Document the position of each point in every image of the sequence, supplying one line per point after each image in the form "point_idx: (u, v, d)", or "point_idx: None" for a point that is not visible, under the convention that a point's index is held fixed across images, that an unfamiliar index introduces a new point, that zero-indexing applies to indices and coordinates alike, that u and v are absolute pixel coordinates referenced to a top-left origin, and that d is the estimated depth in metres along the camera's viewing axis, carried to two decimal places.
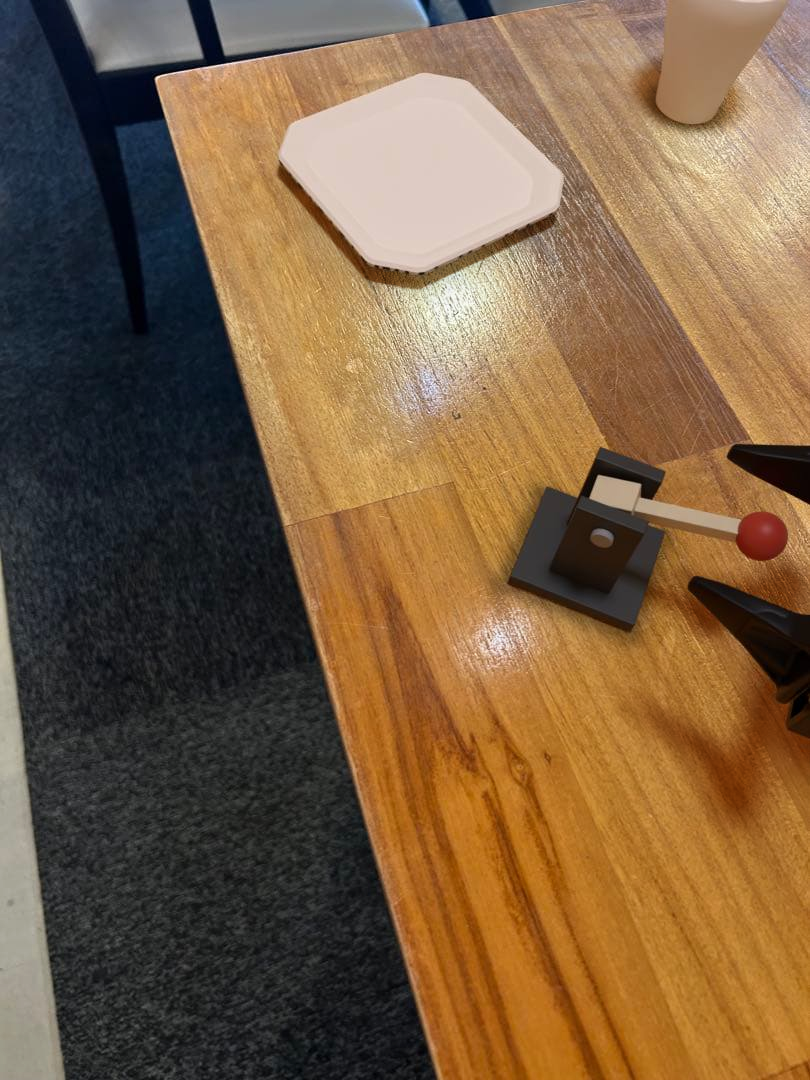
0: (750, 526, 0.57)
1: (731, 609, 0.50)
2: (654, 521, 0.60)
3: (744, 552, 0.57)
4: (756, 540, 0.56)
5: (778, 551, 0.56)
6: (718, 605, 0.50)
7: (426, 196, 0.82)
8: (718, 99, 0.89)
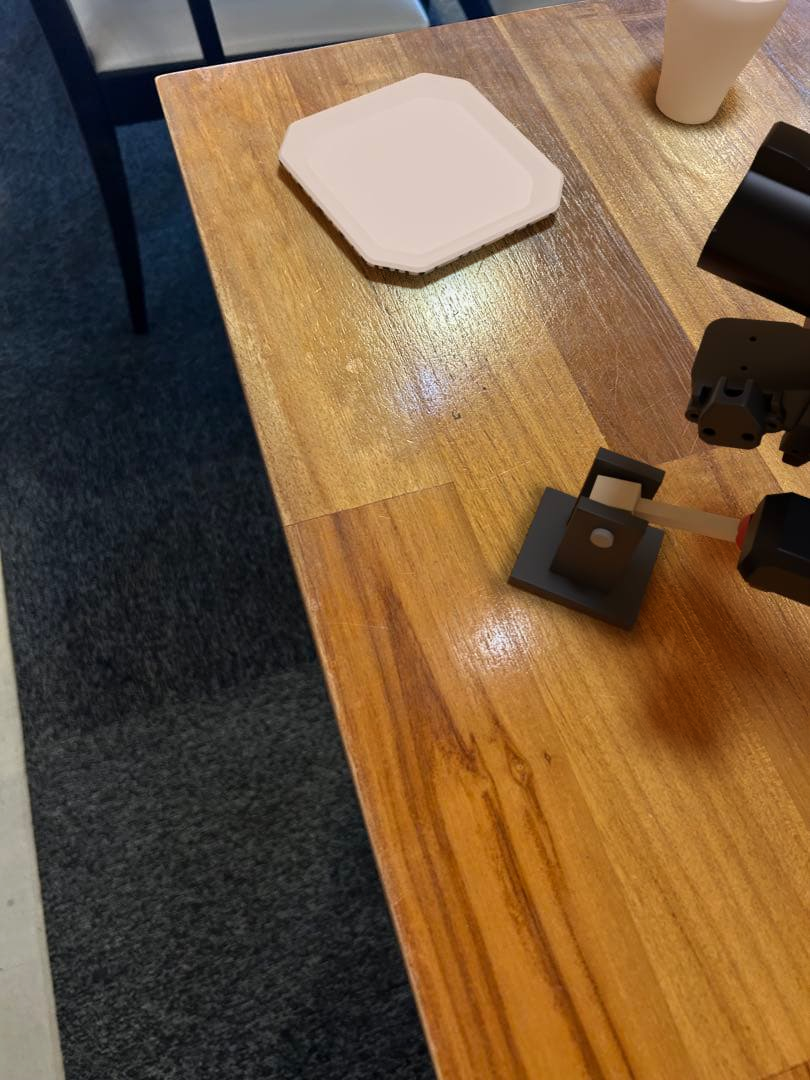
0: None
1: None
2: (654, 521, 0.60)
3: None
4: None
5: None
6: None
7: (426, 196, 0.82)
8: (718, 99, 0.89)
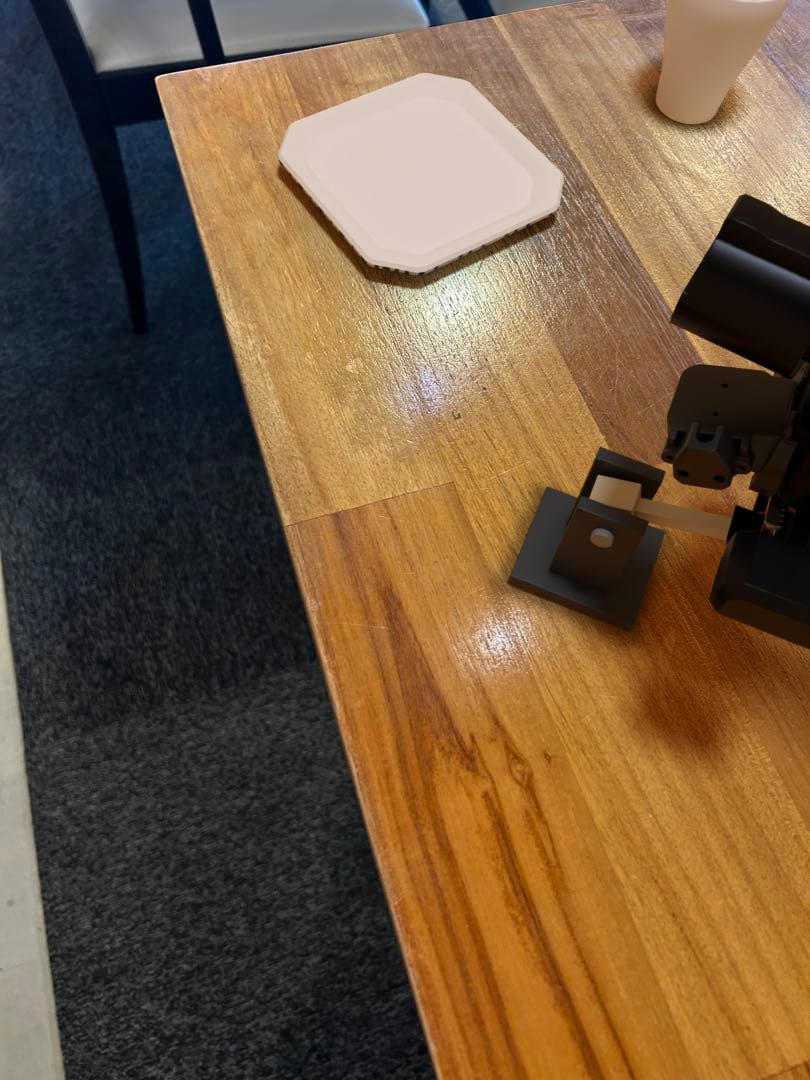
0: None
1: None
2: (654, 521, 0.60)
3: None
4: None
5: None
6: None
7: (426, 196, 0.82)
8: (718, 99, 0.89)
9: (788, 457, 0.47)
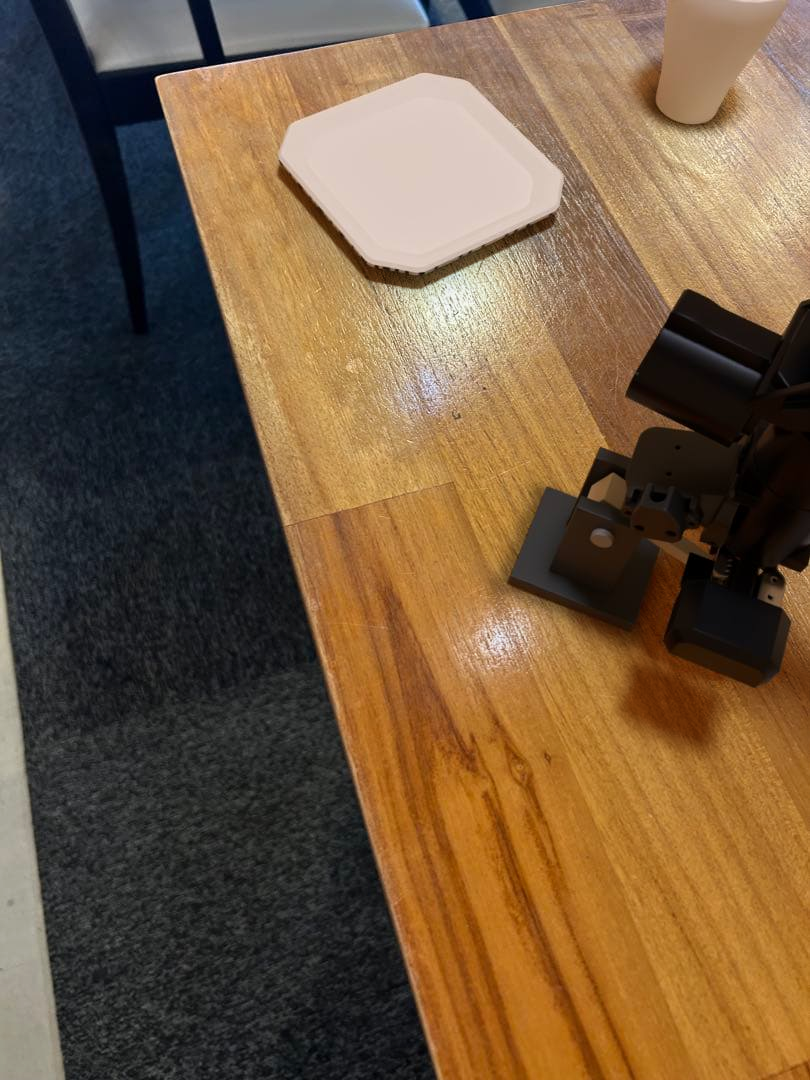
0: None
1: None
2: None
3: None
4: None
5: None
6: None
7: (426, 196, 0.82)
8: (718, 99, 0.89)
9: (732, 515, 0.53)
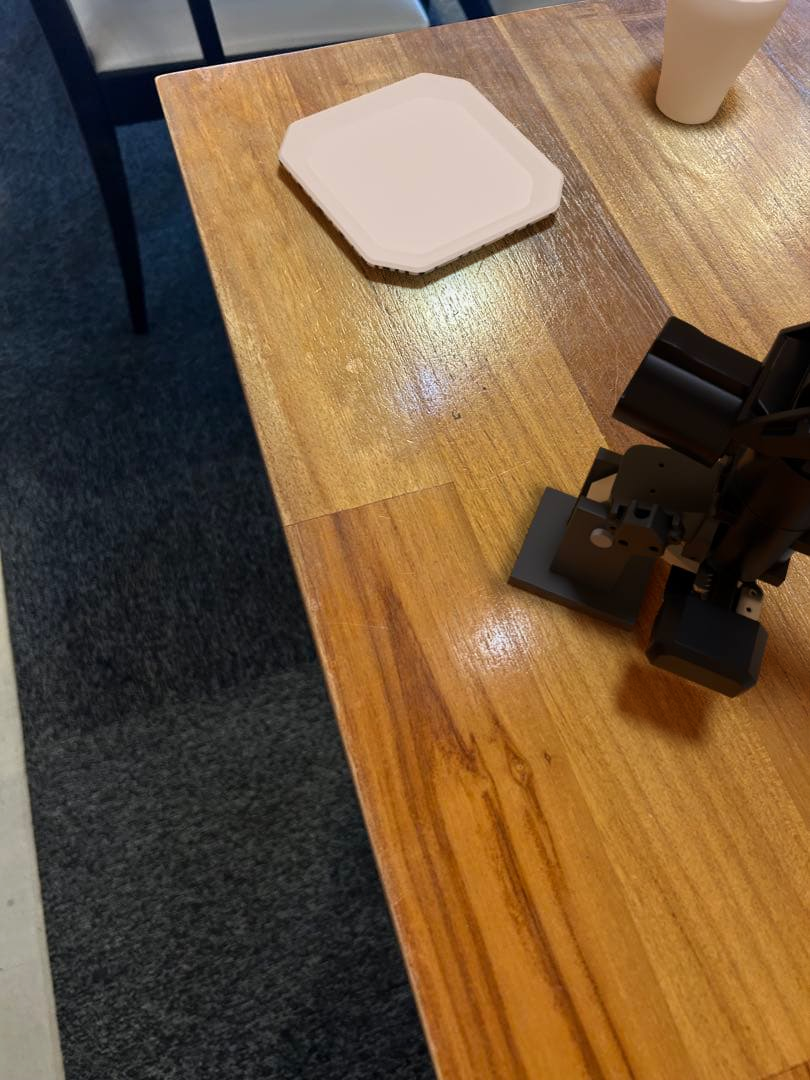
0: None
1: None
2: None
3: None
4: None
5: None
6: None
7: (426, 196, 0.82)
8: (718, 99, 0.89)
9: (713, 532, 0.55)
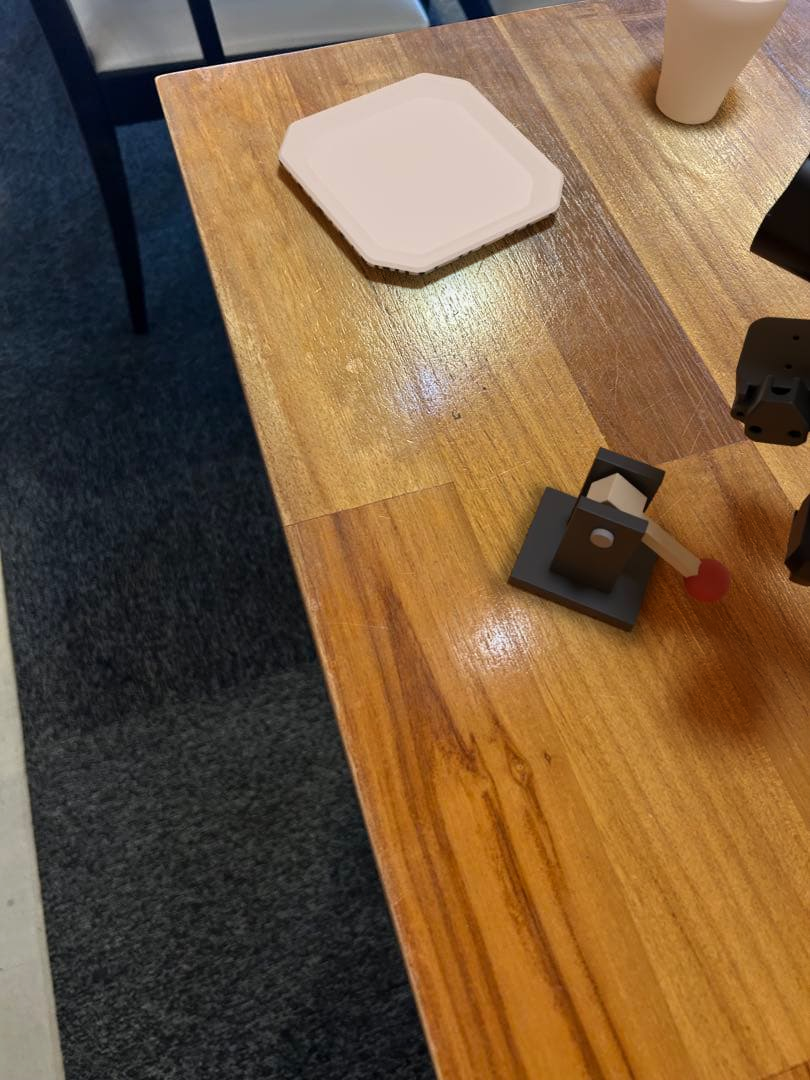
0: (713, 575, 0.62)
1: None
2: None
3: (694, 591, 0.63)
4: (712, 589, 0.62)
5: (716, 600, 0.63)
6: None
7: (426, 196, 0.82)
8: (718, 99, 0.89)
9: None
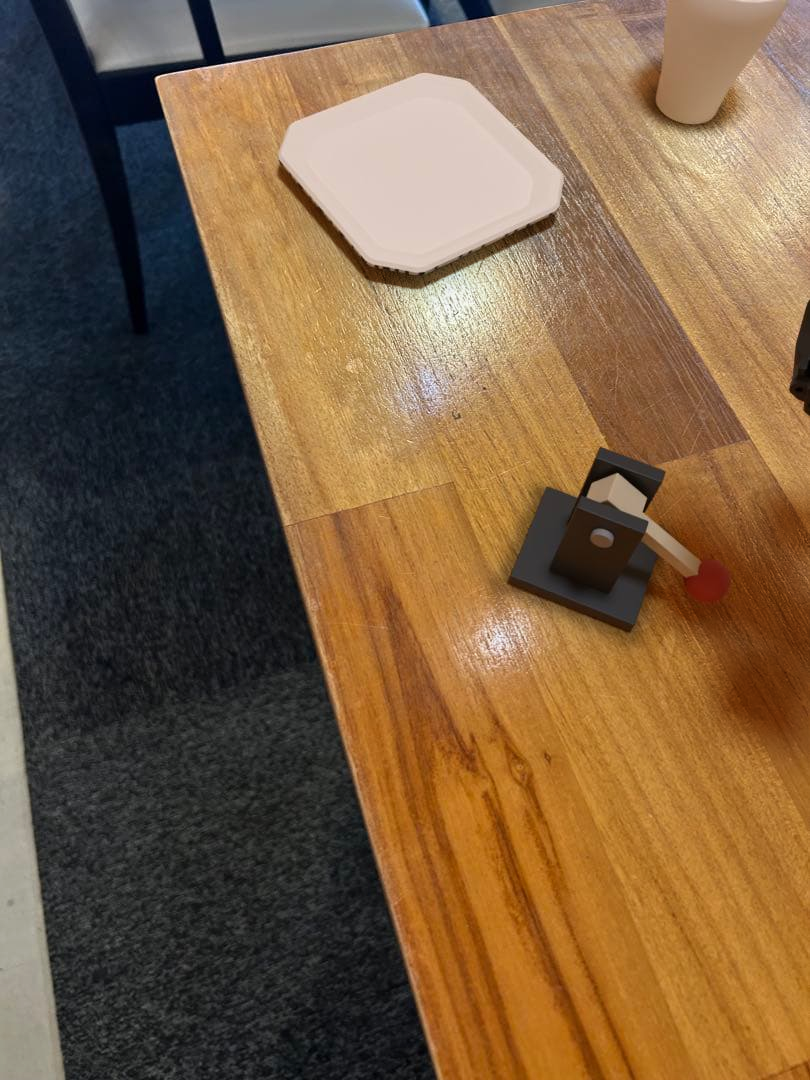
0: (713, 575, 0.62)
1: None
2: None
3: (694, 591, 0.63)
4: (712, 589, 0.62)
5: (716, 600, 0.63)
6: None
7: (426, 196, 0.82)
8: (718, 99, 0.89)
9: None
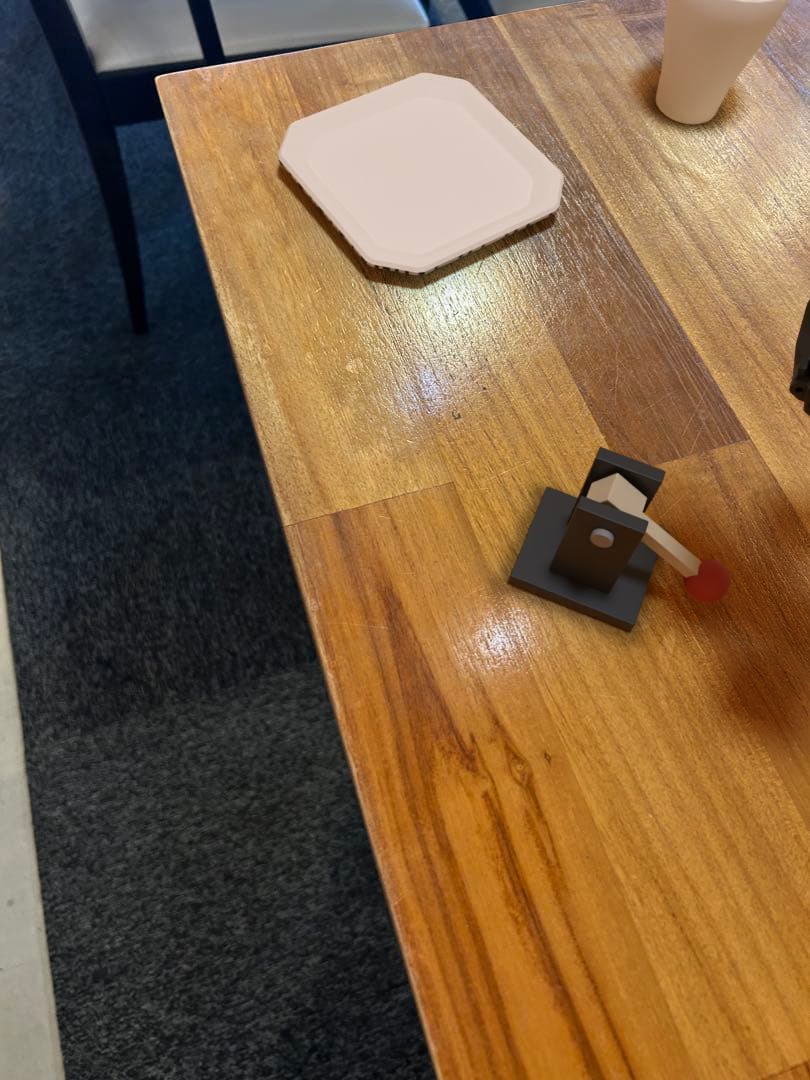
0: (713, 575, 0.62)
1: None
2: None
3: (694, 591, 0.63)
4: (712, 589, 0.62)
5: (716, 600, 0.63)
6: None
7: (426, 196, 0.82)
8: (718, 99, 0.89)
9: None
